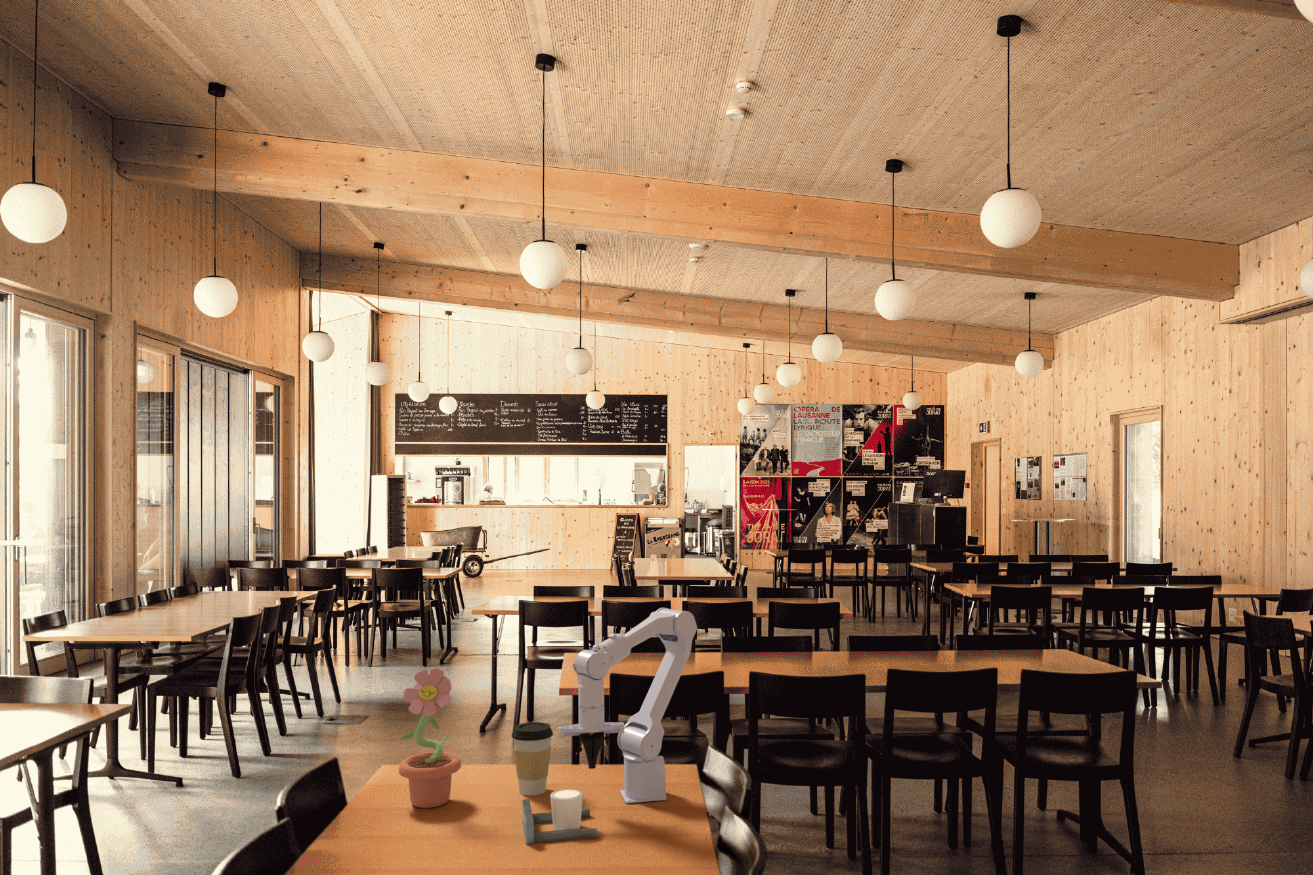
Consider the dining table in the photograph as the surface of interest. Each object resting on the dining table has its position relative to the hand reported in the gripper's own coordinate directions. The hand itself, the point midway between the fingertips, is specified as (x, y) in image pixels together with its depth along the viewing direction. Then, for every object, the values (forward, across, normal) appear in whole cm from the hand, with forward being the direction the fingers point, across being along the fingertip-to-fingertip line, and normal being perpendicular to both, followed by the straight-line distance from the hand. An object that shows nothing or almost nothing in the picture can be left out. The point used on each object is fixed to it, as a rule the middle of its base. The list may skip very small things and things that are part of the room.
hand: (591, 767), depth 196 cm
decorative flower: (+10, +36, -14) cm, 40 cm away
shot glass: (+10, +6, +8) cm, 14 cm away
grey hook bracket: (+9, +9, +9) cm, 16 cm away
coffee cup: (+10, +12, -16) cm, 22 cm away
